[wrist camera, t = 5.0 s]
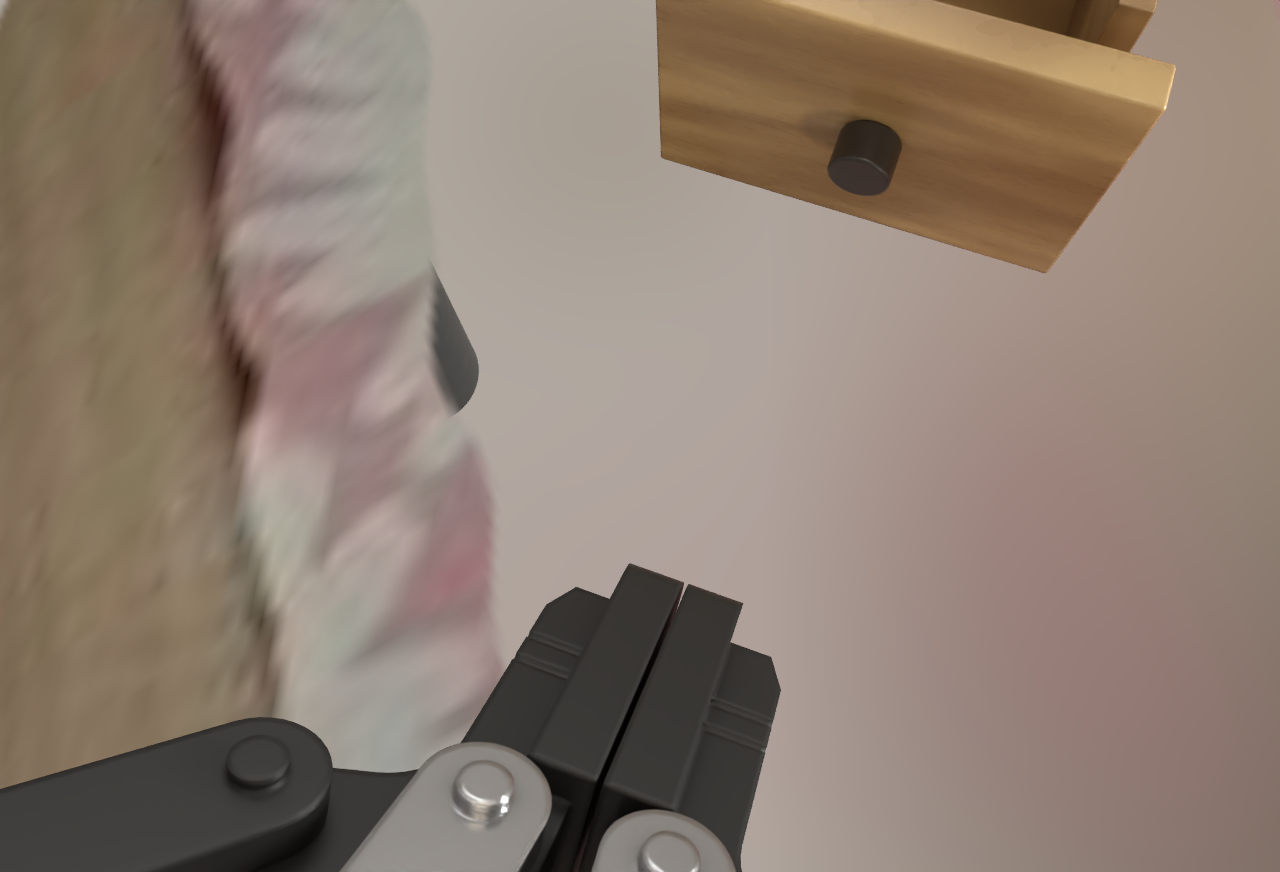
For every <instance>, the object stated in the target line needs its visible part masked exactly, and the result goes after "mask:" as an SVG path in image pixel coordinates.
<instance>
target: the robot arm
mask: <svg viewBox="0 0 1280 872" xmlns="http://www.w3.org/2000/svg"><path fill="white" fill-rule="evenodd" d="M683 586H684V583H683V582H681V581H678V580H675V579H673V578H670V577H667V576H664V575H661V574H659V573H655V572H653V571H650V570H647V569H644V568H641V567H638V566H636V565H633V564H629V565H628V566H627V568H626V570H625V571H624V573H623V575H622V577H621V579H620V581H619V583H618V584H617V586H616V588H615V590H614V592H613V594H612V596H611V598H610V599H608V598H605V597H602V596H600V595H597V594H594V593H592V592H589V591H586V590H583V589H580V588H578V587H575V588H574V589H572V590H571V591H569V592H567V593H565V594H564V595H562V596H560V597H558V598H557V599H555V600H553V601H552V602H550V603H548V604H547V605H546V606H545V608H544V609H543V611H542V612H541V614H540V616H539V617H538V619H537V621H536V622H535V624H534V626H533V627H532V629H531V630H530V633H529V636H528V637H526V638H525V640H524V642H523V643H522V645H521V646H520V648H519V650H518V651H517V653H516V656H515V658H514V659H512V661H511V663H510V664H509V666H508V668H507V669H506V671H505V672H504V674H503V676H502V677H501V679H500V680H499V682H498V684H497V685H496V687H495V689H494V690H493V692H492V693H491V695H490V697H489V698H488V700H487V702H486V703H485V705H484V706H483V708H482V710H481V711H480V713H479V714H478V716H477V718H476V719H475V721H474V723H473V724H472V726H471V727H470V729H469V731H468V732H467V734H466V736H465V737H464V739H463V740H462V741H461V743H460V744H456V745H453V746H450V747H447V748H445V749H443V750H441V751H439V752H437V753H435V754H434V755H433V756H431V757H430V758H429V759H428V760H427V761H426V762H425V763H424V764H423V765H422V766H421V767H420V769H417V770H412V771H407V772H398V773H378V772H368V771H358V770H348V769H338V768H332V767H333V766H332V760H331V756H330V753H329V751H328V749H327V747H326V746H325V744H324V743H323V741H322V740H321V739H320V738H319V737H318V736H317V735H316V734H315V733H313V732H312V731H310V730H309V729H307V728H306V727H303V726H301V725H299V724H297V723H294V722H291V721H287V720H284V719H277V718H264V717H258V718H248V719H243V720H238V721H234V722H230V723H227V724H223V725H220V726H216V727H213V728H210V729H206V730H203V731H199V732H196V733H192V734H189V735H185V736H182V737H179V738H175V739H172V740H168V741H165V742H161V743H158V744H154V745H151V746H147V747H144V748H141V749H137V750H134V751H130V752H127V753H123V754H120V755H116V756H113V757H110V758H106V759H103V760H99V761H96V762H92V763H89V764H85V765H82V766H78V767H75V768H72V769H68V770H65V771H61V772H58V773H54V774H51V775H47V776H44V777H41V778H37V779H34V780H30V781H27V782H23V783H20V784H16V785H13V786H10V787H6V788H3V789H0V872H742V870H741V857H740V855H741V849H742V843H743V840H744V835H745V832H746V828H747V823H748V819H749V816H750V811H751V808H752V803H753V800H754V795H755V792H756V788H757V783H758V780H759V775H760V771H761V767H762V763H763V759H764V755H765V750H766V747H767V743H768V739H769V735H770V731H771V726H772V722H773V719H774V715H775V711H776V707H777V703H778V699H779V695H780V691H781V689H780V686H779V682H778V679H777V676H776V673H775V669H774V665H773V662H772V659H771V657H769V656H767V655H764V654H761V653H758V652H756V651H753V650H750V649H747V648H744V647H742V646H739V645H736V644H734V643H731V642H730V641H731V638H732V635H733V632H734V629H735V626H736V623H737V620H738V617H739V614H740V611H741V608H742V605H743V603H741V602H738V601H735V600H732V599H730V598H727V597H724V596H721V595H718V594H716V593H713V592H709V591H707V590H704V589H701V588H699V587H696V586H693V585H690V584H688V586H687V588H686V590H685V592H684V595H683V597H682V600H681V602H680V605H679V607H678V604H679V600H680V597H681V594H682V590H683ZM677 607H678V609H677Z"/></svg>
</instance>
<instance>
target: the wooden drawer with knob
mask: <svg viewBox="0 0 1280 872" xmlns="http://www.w3.org/2000/svg"><path fill="white" fill-rule="evenodd" d="M1157 1H1158V0H656V12H657V13H656V14H657V42H658V43H657V45H658V72H659V73H658V75H659V105H660V136H661V137H660V138H661V157H662V158H664V159H667V160H670V161H673V162H676V163H680V164H683V165H687V166H690V167H693V168H697V169H700V170H703V171H706V172H710V173H713V174H716V175H720V176H723V177H726V178H730V179H733V180H736V181H740V182H743V183H746V184H750V185H753V186H756V187H760V188H763V189H767V190H770V191H773V192H776V193H780V194H783V195H786V196H790V197H793V198H796V199H799V200H803V201H806V202H810V203H813V204H816V205H819V206H823V207H826V208H830V209H833V210H836V211H839V212H843V213H846V214H849V215H853V216H857V217H859V218H863V219H866V220H870V221H873V222H876V223H879V224H883V225H886V226H889V227H893V228H896V229H899V230H903V231H906V232H909V233H913V234H916V235H919V236H923V237H926V238H929V239H933V240H936V241H939V242H943V243H946V244H949V245H953V246H956V247H959V248H962V249H966V250H969V251H972V252H976V253H979V254H982V255H986V256H989V257H992V258H996V259H999V260H1003V261H1006V262H1009V263H1012V264H1016V265H1019V266H1022V267H1026V268H1029V269H1032V270H1036V271H1039V272H1042V273H1047V272H1048V271H1049V269H1050V268H1051V267H1052V265H1053V264H1054V263H1055V261H1056V260H1057V258H1058V257H1059V256H1060V254H1061V253H1062V252H1063V250H1064V249H1065V247H1066V246H1067V245H1068V243H1069V242H1070V241H1071V239H1072V238H1073V236H1074V235H1075V234H1076V232H1077V231H1078V230H1079V228H1080V227H1081V225H1082V224H1083V222H1084V221H1085V220H1086V218H1087V217H1088V216H1089V214H1090V213H1091V212H1092V210H1093V209H1094V208H1095V206H1096V205H1097V203H1098V202H1099V201H1100V199H1101V198H1102V196H1103V195H1104V194H1105V192H1106V191H1107V189H1108V188H1109V187H1110V185H1111V184H1112V182H1113V181H1114V180H1115V179H1116V177H1117V176H1118V174H1119V173H1120V172H1121V170H1122V169H1123V168H1124V166H1125V165H1126V163H1127V162H1128V160H1129V159H1130V158H1131V157H1132V155H1133V154H1134V152H1135V151H1136V150H1137V148H1138V147H1139V146H1140V144H1141V143H1142V141H1143V140H1144V139H1145V137H1146V136H1147V134H1148V133H1149V132H1150V130H1151V129H1152V128H1153V126H1154V125H1155V123H1156V122H1157V121H1158V119H1159V118H1160V117H1161V115H1162V114H1163V112H1164V111H1165V110H1166V106H1167V103H1168V99H1169V95H1170V91H1171V87H1172V83H1173V79H1174V76H1175V72H1176V66H1174V65H1172V64H1169V63H1165V62H1161V61H1158V60H1154V59H1150V58H1147V57H1143V56H1139V55H1136V54H1132V53H1130V51H1131V49H1132V48H1133V46H1134V45H1135V43H1136V41H1137V40H1138V38H1139V37H1140V35H1141V33H1142V32H1143V30H1144V29H1145V27H1146V25H1147V24H1148V22H1149V20H1150V19H1151V17H1152V16H1153V14H1154V12H1155V8H1156V5H1157Z"/></svg>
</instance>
